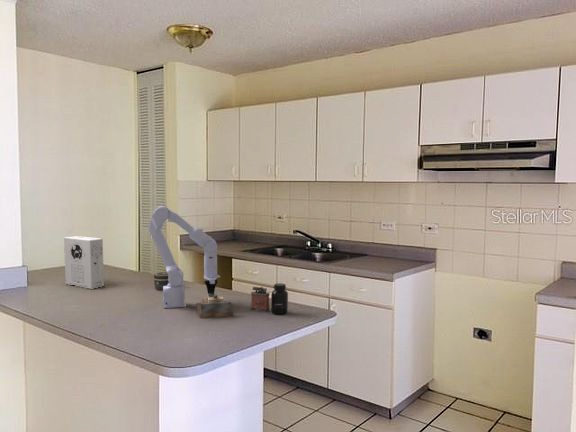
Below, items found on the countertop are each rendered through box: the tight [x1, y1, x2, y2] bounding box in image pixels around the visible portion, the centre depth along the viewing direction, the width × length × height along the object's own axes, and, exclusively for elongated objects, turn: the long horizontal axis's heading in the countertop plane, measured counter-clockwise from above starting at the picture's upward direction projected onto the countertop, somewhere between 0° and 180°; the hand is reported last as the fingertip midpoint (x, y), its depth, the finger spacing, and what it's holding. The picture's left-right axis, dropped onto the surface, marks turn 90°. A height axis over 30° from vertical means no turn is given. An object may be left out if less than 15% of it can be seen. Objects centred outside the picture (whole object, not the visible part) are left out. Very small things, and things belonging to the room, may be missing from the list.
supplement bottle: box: [270, 282, 289, 316], centre depth 202 cm, size 7×7×12 cm
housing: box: [208, 294, 224, 303], centre depth 203 cm, size 6×4×6 cm, turn 104°
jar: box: [153, 271, 169, 291], centre depth 247 cm, size 10×10×8 cm
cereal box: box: [63, 235, 105, 290], centre depth 253 cm, size 22×8×25 cm, turn 58°
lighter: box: [250, 286, 270, 313], centre depth 206 cm, size 8×3×10 cm, turn 71°
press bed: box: [196, 295, 233, 319], centre depth 211 cm, size 13×30×6 cm, turn 14°
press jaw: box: [206, 292, 216, 303], centre depth 211 cm, size 6×12×3 cm, turn 14°
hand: (211, 296), depth 217 cm, fingers closed, pressing on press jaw
